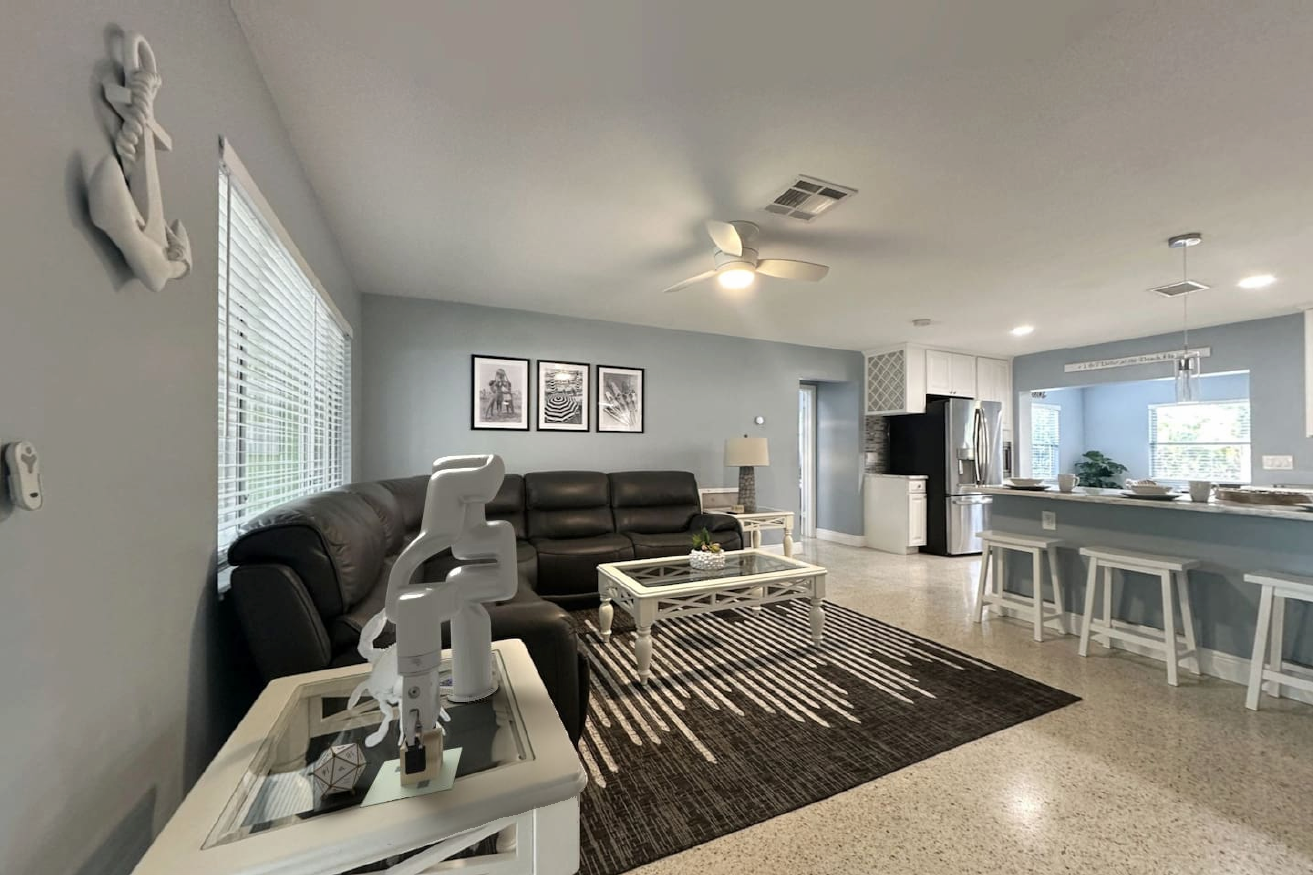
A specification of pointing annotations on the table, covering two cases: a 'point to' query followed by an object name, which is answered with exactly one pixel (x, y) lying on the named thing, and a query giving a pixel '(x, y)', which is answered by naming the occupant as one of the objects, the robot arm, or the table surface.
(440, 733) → the cube
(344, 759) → the game die
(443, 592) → the robot arm
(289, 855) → the table surface
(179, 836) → the table surface
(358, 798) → the table surface
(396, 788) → the letter card
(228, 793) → the table surface
